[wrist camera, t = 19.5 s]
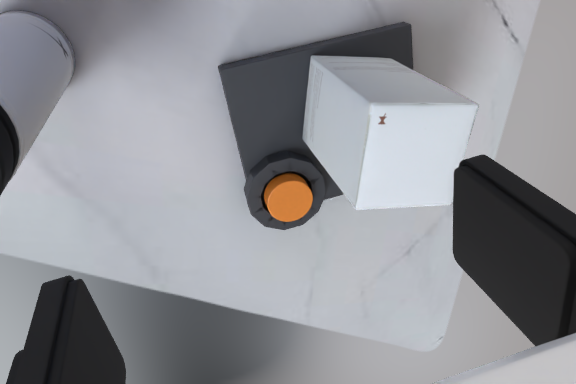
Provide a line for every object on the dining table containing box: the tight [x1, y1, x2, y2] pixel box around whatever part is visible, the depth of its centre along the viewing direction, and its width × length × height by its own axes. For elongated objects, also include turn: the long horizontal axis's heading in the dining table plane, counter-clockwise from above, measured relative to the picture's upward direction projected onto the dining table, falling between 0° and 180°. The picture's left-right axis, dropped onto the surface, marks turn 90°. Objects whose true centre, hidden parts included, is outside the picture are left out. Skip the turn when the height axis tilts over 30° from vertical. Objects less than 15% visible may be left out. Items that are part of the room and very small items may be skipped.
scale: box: [218, 22, 413, 230], centre depth 42 cm, size 16×15×3 cm
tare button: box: [264, 173, 313, 222], centre depth 41 cm, size 4×4×2 cm
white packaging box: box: [302, 55, 479, 210], centre depth 35 cm, size 7×7×13 cm
